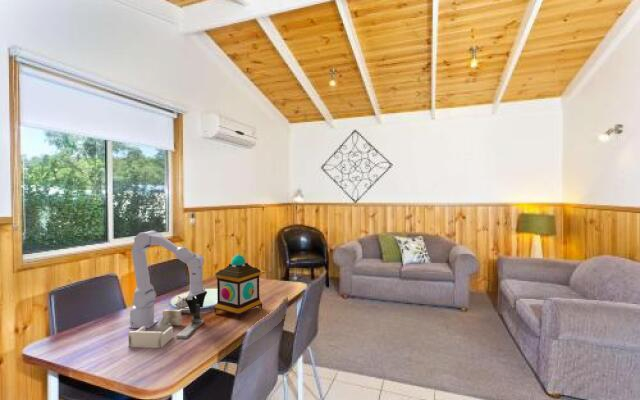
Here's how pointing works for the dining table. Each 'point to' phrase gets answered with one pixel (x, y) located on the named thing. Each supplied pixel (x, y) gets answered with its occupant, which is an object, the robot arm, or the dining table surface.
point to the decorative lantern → (238, 287)
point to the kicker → (176, 315)
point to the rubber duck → (164, 324)
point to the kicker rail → (189, 330)
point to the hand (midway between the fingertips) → (196, 310)
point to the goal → (149, 338)
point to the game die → (181, 303)
